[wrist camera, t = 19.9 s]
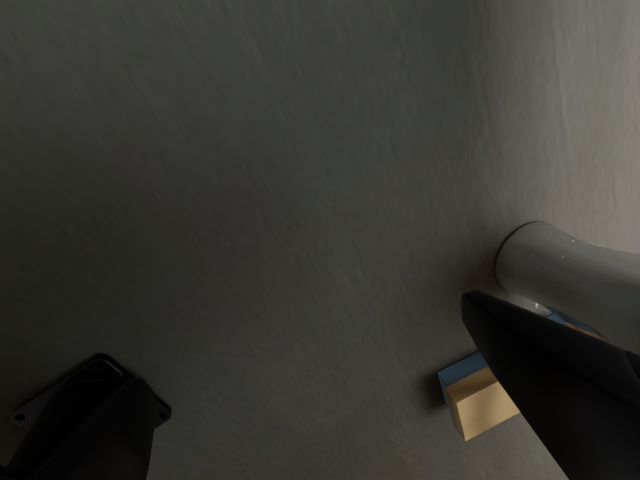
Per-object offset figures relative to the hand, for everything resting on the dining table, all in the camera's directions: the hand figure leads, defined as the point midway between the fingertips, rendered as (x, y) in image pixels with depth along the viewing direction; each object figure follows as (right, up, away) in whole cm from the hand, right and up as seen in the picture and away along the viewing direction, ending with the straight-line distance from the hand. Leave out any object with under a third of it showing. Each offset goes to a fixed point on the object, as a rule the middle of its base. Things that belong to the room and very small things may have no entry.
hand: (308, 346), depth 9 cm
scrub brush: (+16, -8, +21) cm, 28 cm away
